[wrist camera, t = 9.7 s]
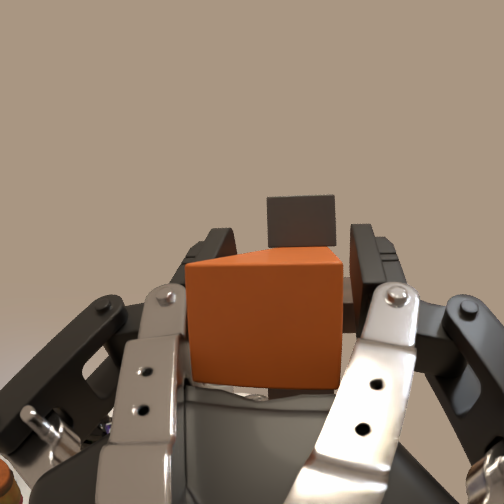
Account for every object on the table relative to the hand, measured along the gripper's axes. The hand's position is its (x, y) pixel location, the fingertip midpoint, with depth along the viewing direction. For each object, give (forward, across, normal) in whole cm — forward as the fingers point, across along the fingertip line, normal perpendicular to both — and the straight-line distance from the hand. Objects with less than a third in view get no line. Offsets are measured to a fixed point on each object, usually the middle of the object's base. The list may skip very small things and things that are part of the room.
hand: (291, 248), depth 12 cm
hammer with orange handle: (+1, 0, +4) cm, 4 cm away
